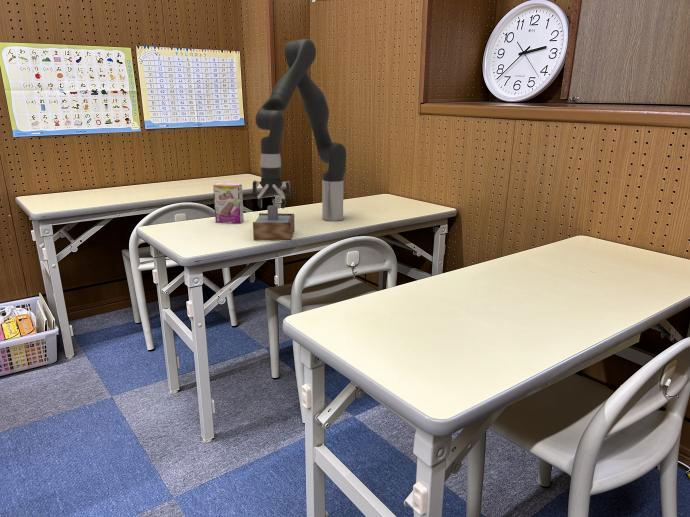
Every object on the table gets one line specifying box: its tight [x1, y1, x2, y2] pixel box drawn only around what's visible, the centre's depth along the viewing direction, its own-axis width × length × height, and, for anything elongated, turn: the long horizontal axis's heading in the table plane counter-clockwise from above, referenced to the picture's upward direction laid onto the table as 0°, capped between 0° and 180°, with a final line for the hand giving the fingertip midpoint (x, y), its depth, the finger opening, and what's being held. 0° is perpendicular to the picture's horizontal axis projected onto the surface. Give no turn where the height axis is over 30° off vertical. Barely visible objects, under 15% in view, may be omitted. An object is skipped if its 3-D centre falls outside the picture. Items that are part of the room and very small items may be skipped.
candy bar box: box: [212, 182, 245, 224], centre depth 212 cm, size 11×5×16 cm, turn 84°
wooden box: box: [252, 212, 296, 242], centre depth 194 cm, size 14×15×7 cm
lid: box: [254, 205, 290, 222], centre depth 193 cm, size 12×12×6 cm
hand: (271, 208), depth 192 cm, fingers open, 8 cm apart
